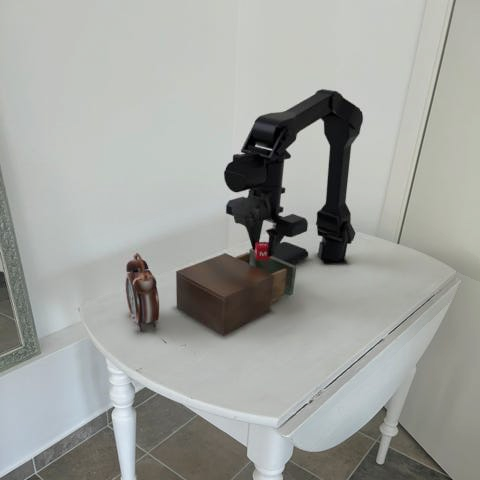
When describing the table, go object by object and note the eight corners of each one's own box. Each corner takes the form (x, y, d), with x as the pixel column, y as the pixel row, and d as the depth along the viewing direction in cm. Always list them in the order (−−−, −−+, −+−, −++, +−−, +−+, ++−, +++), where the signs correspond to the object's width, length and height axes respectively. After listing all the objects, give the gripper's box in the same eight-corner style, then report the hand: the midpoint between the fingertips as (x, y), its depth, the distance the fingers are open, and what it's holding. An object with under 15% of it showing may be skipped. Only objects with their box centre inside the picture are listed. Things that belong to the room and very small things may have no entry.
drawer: (254, 273, 120) (256, 246, 116) (296, 293, 112) (299, 265, 108) (211, 291, 110) (211, 263, 107) (253, 314, 103) (256, 284, 99)
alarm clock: (126, 311, 103) (121, 246, 95) (149, 307, 105) (145, 244, 97) (138, 338, 95) (133, 269, 87) (162, 334, 96) (159, 266, 88)
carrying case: (279, 247, 137) (246, 262, 127) (280, 237, 135) (246, 251, 126) (310, 259, 131) (278, 275, 122) (312, 248, 130) (279, 264, 120)
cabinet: (224, 288, 114) (225, 252, 110) (270, 311, 106) (274, 275, 101) (176, 308, 105) (175, 271, 100) (223, 336, 97) (224, 297, 92)
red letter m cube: (256, 259, 106) (257, 247, 104) (254, 254, 108) (255, 241, 107) (269, 260, 106) (270, 247, 104) (267, 254, 108) (268, 242, 107)
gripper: (208, 179, 98) (207, 249, 107) (277, 202, 88) (270, 278, 96) (245, 170, 106) (241, 236, 114) (313, 191, 95) (304, 262, 103)
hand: (262, 252), depth 107 cm, fingers closed on red letter m cube, 4 cm apart
